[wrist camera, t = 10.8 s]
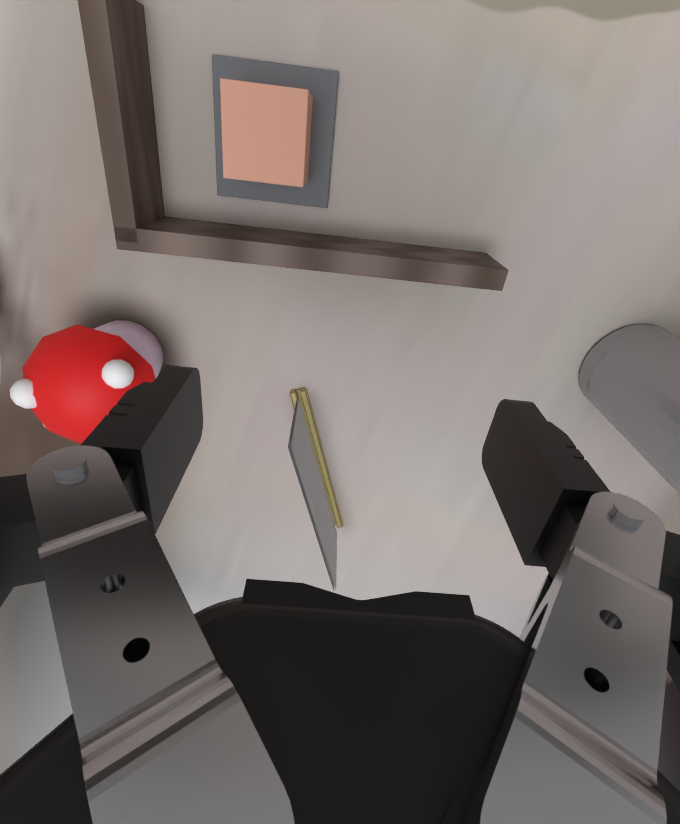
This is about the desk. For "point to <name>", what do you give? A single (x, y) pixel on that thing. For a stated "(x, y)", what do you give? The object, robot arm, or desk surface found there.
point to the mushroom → (86, 374)
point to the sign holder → (314, 478)
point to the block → (265, 132)
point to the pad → (322, 128)
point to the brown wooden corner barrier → (152, 232)
